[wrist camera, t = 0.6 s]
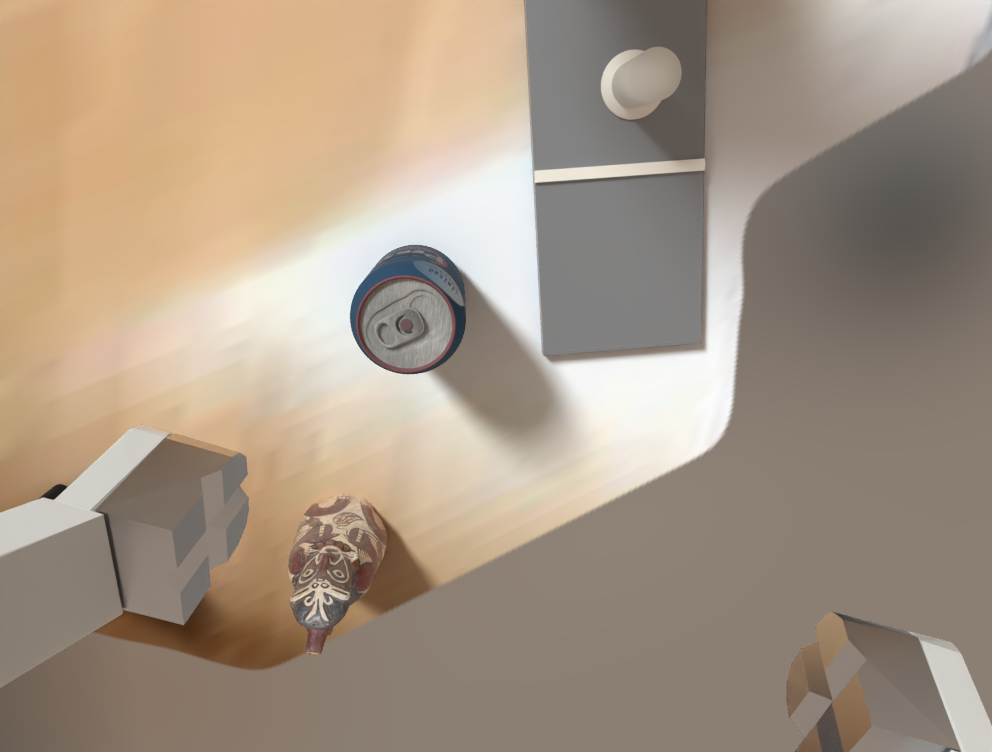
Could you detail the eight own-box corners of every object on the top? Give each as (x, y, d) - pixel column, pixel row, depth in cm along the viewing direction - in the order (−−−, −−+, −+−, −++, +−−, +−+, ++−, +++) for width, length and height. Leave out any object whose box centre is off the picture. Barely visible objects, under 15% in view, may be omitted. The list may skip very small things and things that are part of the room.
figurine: (397, 506, 57) (381, 592, 45) (376, 580, 59) (356, 681, 47) (309, 485, 56) (271, 567, 44) (291, 561, 58) (249, 659, 46)
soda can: (439, 226, 51) (433, 244, 39) (479, 312, 53) (485, 353, 41) (353, 267, 51) (323, 296, 40) (396, 350, 53) (380, 401, 42)
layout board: (522, -29, 46) (533, -62, 39) (702, -40, 47) (743, -75, 40) (542, 352, 54) (554, 378, 47) (696, 340, 54) (730, 364, 47)
